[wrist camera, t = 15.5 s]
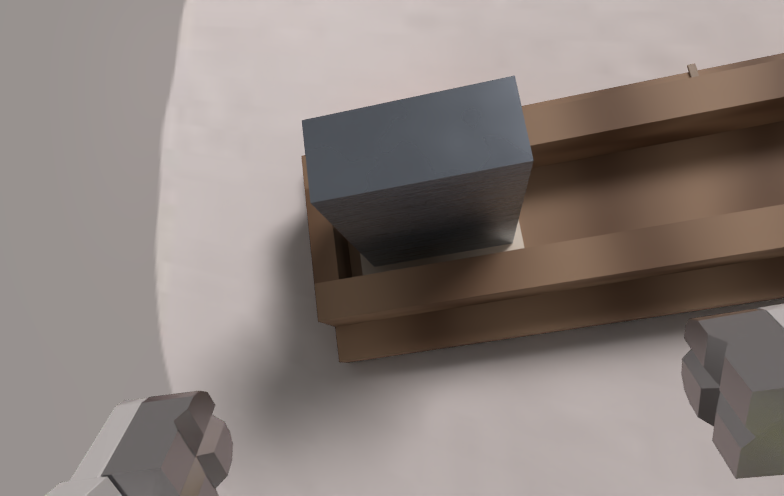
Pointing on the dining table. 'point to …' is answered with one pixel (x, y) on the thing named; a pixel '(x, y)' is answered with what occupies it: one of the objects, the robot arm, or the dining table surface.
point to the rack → (594, 223)
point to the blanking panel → (423, 172)
